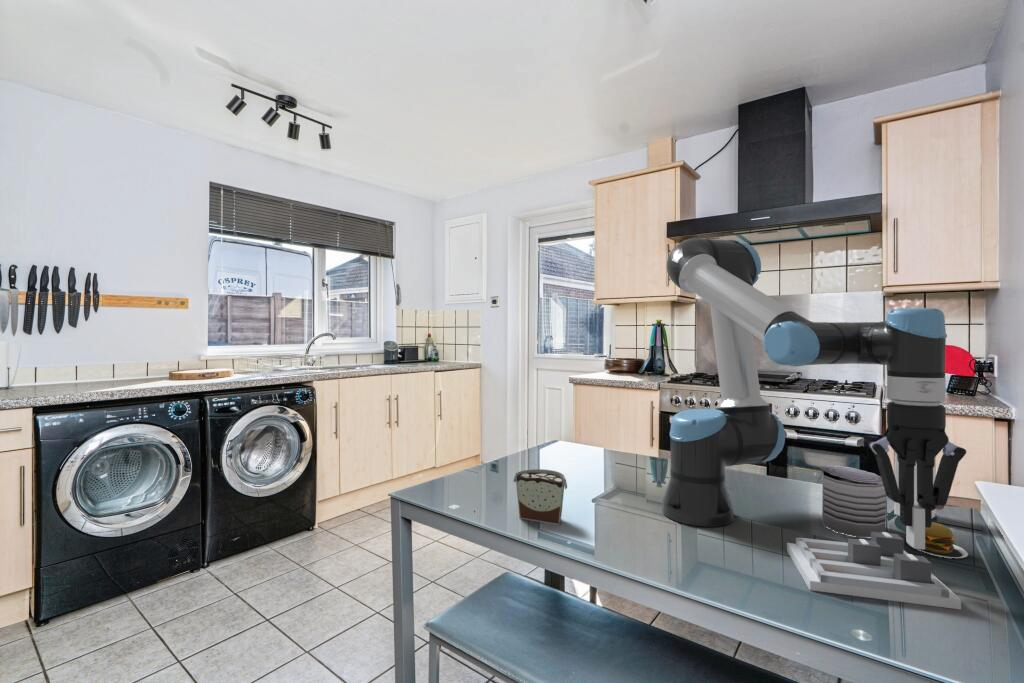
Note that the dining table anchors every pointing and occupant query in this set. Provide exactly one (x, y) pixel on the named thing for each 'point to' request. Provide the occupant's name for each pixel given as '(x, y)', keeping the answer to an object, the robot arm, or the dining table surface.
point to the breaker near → (912, 568)
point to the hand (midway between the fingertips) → (915, 545)
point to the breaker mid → (864, 552)
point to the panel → (862, 576)
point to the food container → (540, 495)
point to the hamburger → (941, 541)
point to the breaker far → (888, 543)
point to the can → (853, 501)
